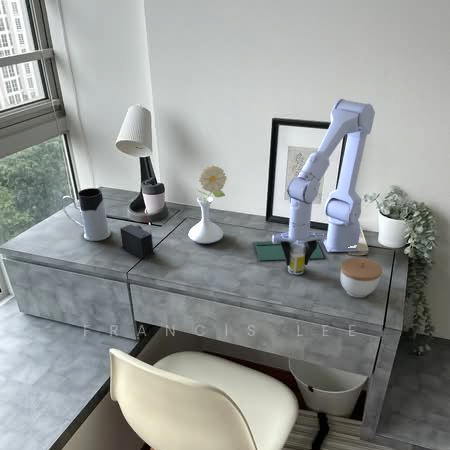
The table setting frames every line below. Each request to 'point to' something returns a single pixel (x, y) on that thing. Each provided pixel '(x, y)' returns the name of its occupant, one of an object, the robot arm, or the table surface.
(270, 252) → the green board
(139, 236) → the digital camera
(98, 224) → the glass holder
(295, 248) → the supplement bottle
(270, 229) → the table surface
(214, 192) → the flower in vase
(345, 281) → the trinket box
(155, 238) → the table surface
